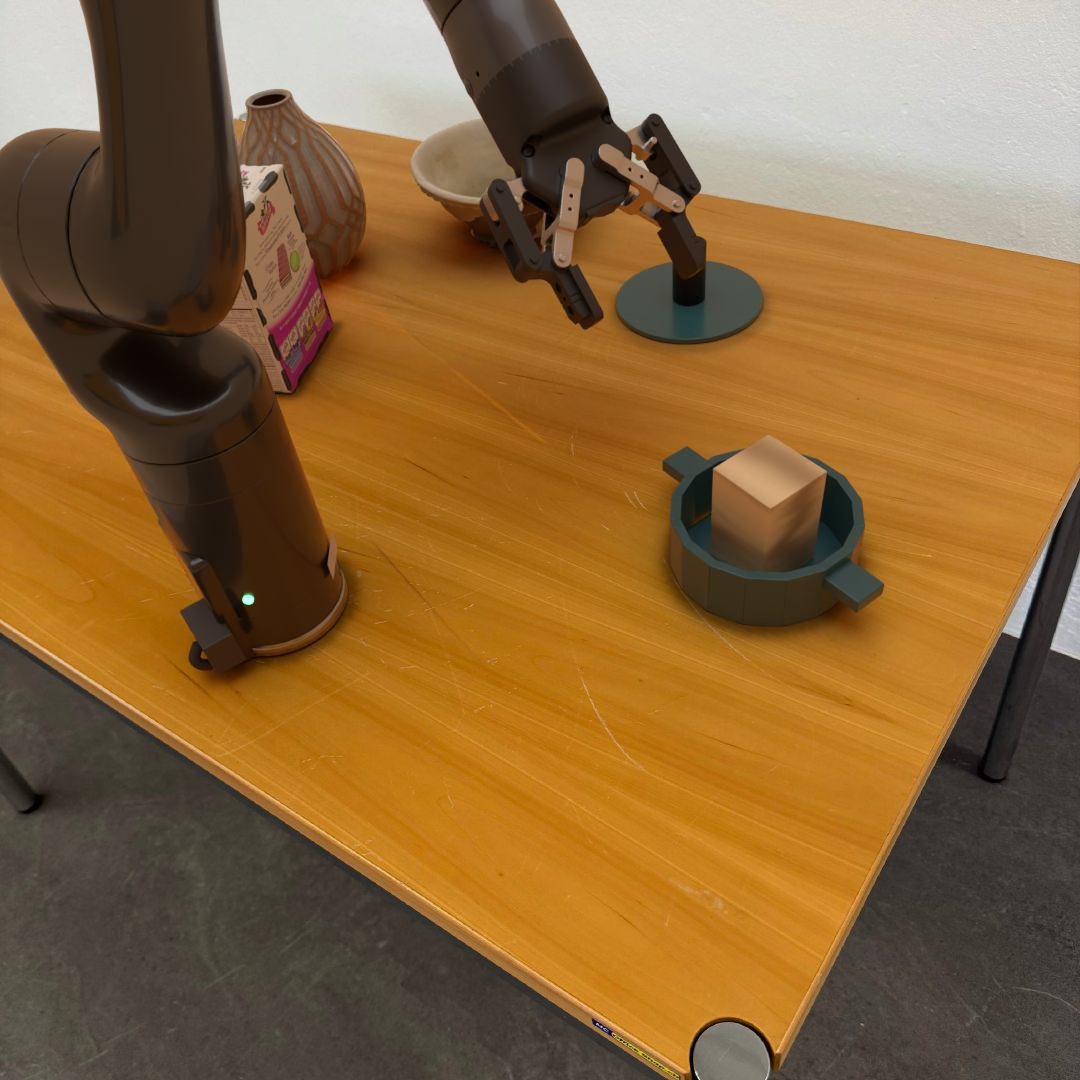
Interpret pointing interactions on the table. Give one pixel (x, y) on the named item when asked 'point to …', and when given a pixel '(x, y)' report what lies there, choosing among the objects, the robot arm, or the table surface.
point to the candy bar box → (278, 282)
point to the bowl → (466, 176)
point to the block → (766, 508)
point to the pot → (760, 591)
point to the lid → (689, 302)
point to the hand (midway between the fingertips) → (646, 298)
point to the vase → (308, 176)
